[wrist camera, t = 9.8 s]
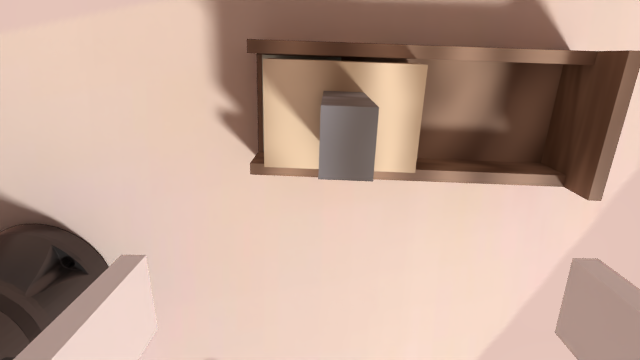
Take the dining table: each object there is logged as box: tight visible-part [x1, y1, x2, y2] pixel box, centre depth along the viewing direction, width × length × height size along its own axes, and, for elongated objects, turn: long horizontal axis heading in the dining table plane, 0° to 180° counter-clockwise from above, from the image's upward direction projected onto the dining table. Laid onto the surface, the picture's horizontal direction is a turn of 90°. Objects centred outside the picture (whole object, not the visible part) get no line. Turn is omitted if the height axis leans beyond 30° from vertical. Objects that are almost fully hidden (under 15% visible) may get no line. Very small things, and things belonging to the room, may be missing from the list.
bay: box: [247, 39, 640, 201], centre depth 31 cm, size 28×11×8 cm, turn 88°
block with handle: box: [263, 58, 428, 181], centre depth 27 cm, size 12×8×15 cm
